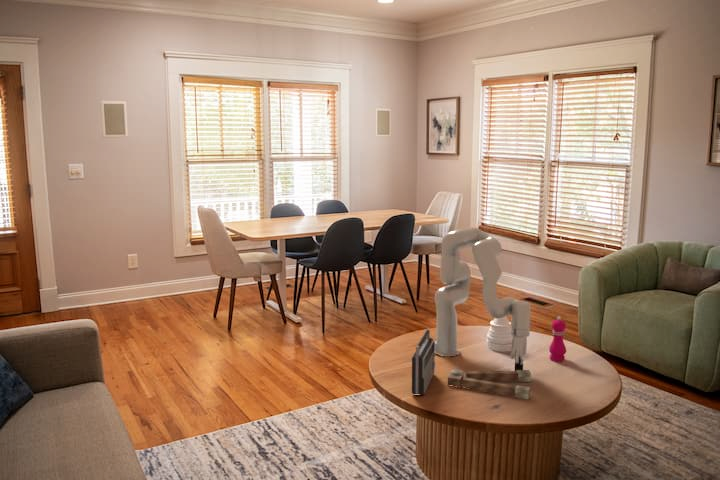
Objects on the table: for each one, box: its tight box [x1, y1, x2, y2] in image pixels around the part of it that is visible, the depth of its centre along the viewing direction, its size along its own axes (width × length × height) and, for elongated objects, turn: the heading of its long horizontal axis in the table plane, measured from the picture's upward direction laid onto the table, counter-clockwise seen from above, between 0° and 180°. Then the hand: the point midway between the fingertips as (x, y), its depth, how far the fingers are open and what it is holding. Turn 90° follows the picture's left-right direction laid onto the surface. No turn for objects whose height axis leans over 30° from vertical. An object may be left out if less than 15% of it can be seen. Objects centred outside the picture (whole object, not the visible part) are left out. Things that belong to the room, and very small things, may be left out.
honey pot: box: [486, 316, 513, 352], centre depth 287 cm, size 13×13×18 cm
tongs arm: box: [465, 369, 532, 383], centre depth 249 cm, size 26×3×4 cm, turn 89°
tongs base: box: [447, 369, 531, 400], centre depth 242 cm, size 32×8×4 cm, turn 64°
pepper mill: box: [548, 316, 567, 363], centre depth 270 cm, size 7×7×20 cm
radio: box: [411, 328, 436, 396], centre depth 245 cm, size 24×5×20 cm, turn 163°
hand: (518, 372), depth 254 cm, fingers closed
